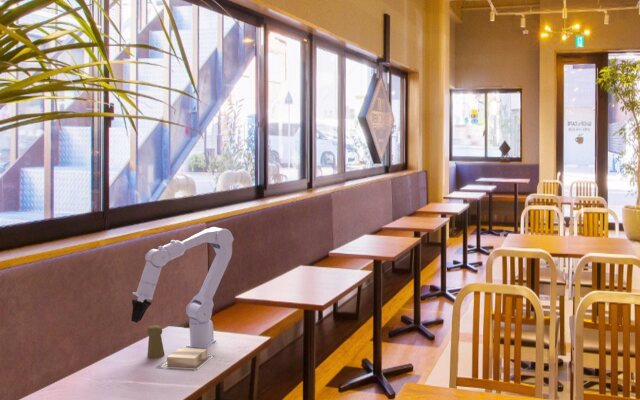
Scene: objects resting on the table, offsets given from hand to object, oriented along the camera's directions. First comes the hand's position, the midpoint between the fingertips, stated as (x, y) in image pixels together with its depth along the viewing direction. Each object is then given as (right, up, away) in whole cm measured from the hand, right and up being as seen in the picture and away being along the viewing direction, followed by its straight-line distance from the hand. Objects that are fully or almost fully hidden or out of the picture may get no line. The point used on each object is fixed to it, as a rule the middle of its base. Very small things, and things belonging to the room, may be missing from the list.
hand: (135, 320), depth 232 cm
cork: (+6, -13, +3) cm, 15 cm away
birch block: (+19, -13, -4) cm, 23 cm away
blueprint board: (+18, -13, -4) cm, 23 cm away
